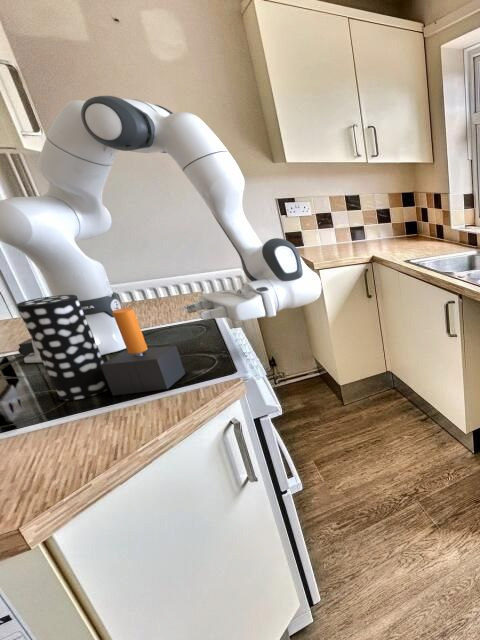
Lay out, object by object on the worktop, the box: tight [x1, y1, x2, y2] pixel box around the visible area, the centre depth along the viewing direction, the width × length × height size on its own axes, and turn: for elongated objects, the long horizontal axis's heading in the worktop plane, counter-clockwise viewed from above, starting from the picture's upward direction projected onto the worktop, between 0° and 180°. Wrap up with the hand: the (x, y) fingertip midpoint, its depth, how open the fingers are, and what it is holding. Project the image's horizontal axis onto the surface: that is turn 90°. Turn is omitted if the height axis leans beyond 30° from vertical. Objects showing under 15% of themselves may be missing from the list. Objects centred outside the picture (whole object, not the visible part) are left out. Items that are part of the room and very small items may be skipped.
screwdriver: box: [112, 307, 149, 356], centre depth 88 cm, size 3×3×17 cm
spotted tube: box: [15, 295, 110, 401], centre depth 86 cm, size 8×8×20 cm
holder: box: [100, 345, 186, 396], centre depth 91 cm, size 10×8×7 cm
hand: (192, 312), depth 95 cm, fingers open, 8 cm apart
